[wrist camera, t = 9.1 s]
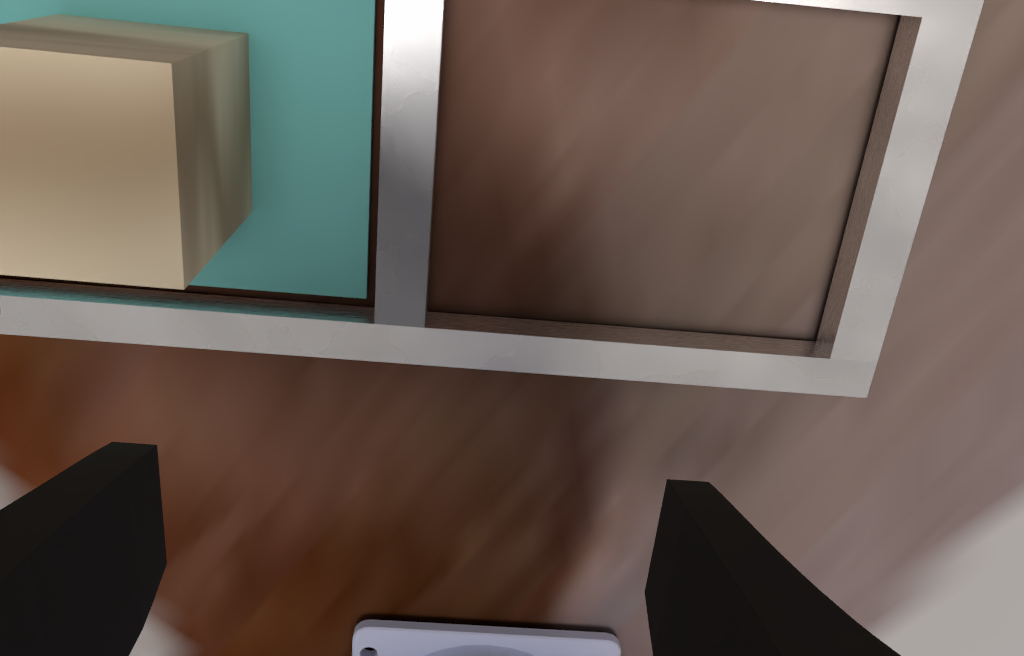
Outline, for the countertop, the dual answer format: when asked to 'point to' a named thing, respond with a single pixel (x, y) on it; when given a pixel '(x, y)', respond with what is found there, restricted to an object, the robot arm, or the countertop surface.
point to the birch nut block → (121, 149)
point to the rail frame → (410, 199)
